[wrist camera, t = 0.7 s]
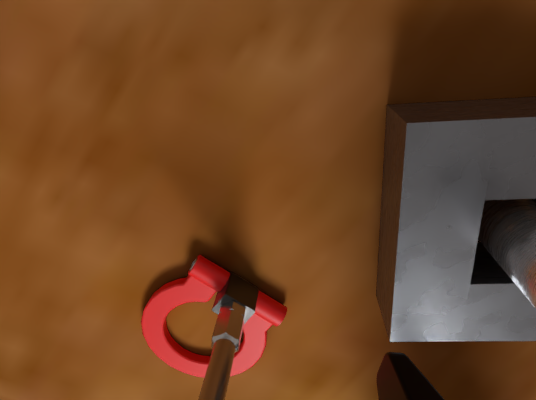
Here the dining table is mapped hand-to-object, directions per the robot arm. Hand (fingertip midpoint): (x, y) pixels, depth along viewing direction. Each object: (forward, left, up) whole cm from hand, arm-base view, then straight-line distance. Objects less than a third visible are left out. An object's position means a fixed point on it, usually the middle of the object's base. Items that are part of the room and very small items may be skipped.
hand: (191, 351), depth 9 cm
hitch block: (-4, -13, -14) cm, 20 cm away
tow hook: (-12, +4, -15) cm, 19 cm away
